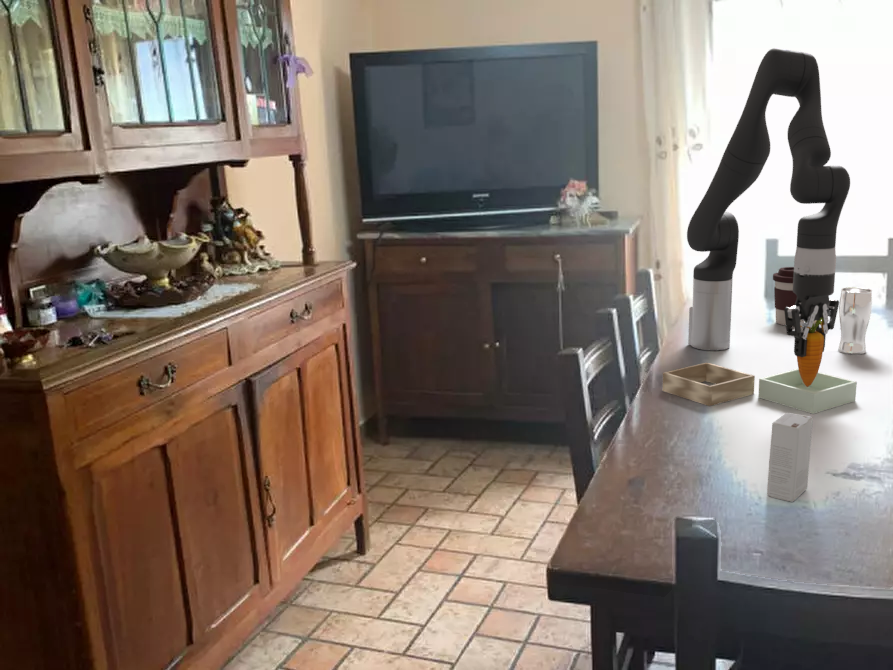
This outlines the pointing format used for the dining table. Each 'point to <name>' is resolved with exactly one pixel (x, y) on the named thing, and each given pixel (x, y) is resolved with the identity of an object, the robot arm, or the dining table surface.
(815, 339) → the carrot
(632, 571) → the dining table surface
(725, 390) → the birch frame
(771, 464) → the skincare box
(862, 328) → the beer glass
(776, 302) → the coffee cup
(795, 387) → the green tray
